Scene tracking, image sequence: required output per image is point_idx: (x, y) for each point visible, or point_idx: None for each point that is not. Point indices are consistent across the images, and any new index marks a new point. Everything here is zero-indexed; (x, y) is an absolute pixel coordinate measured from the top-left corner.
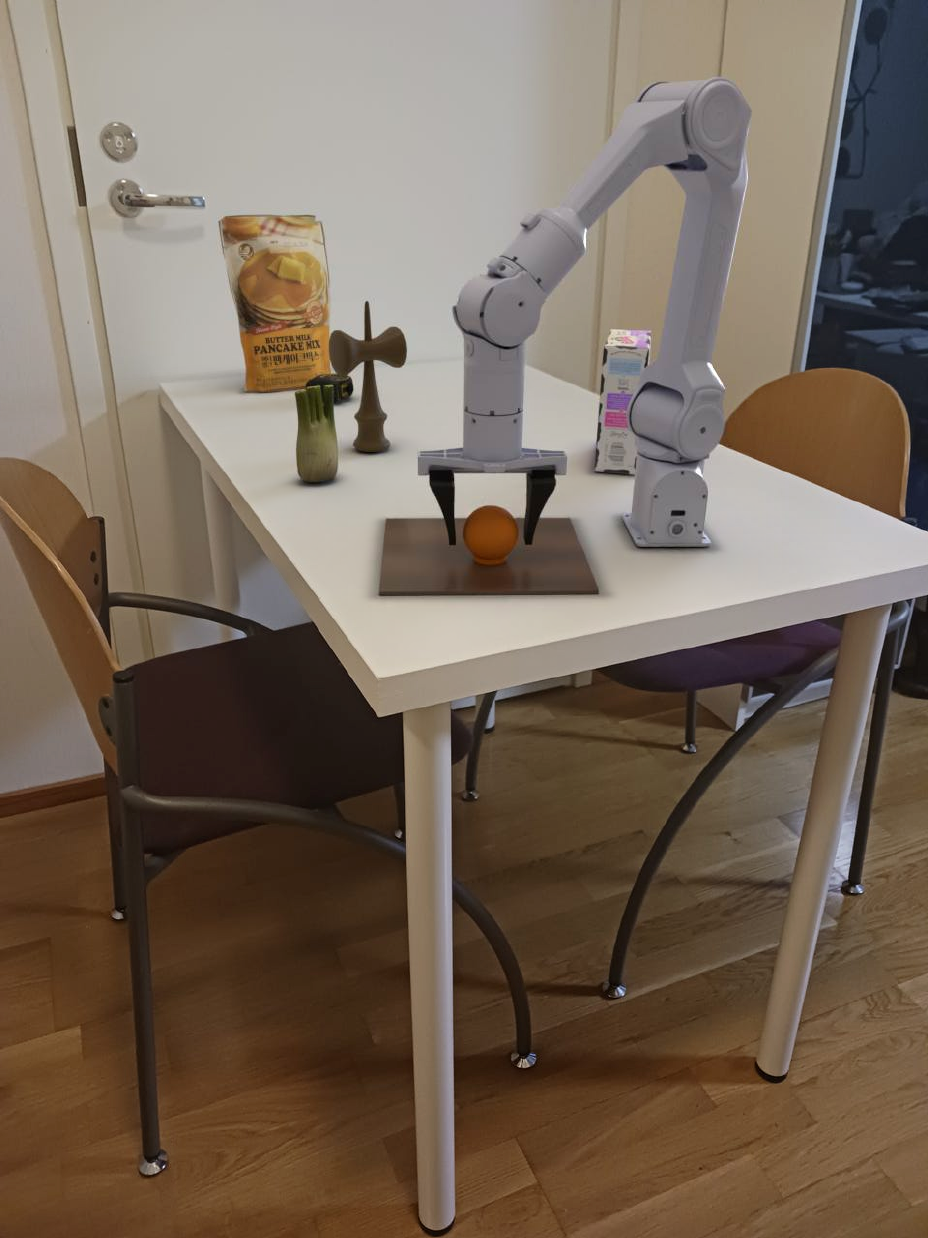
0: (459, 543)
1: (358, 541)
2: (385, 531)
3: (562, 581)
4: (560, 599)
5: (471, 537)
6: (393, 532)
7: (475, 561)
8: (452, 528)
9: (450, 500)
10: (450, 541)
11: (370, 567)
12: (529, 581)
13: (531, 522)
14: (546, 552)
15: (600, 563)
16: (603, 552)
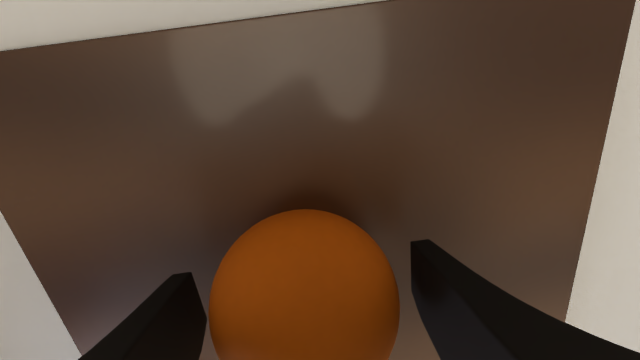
0: None
1: (616, 310)
2: None
3: (61, 119)
4: (44, 2)
5: (368, 245)
6: None
7: None
8: (447, 267)
9: (537, 351)
10: (433, 243)
11: (616, 173)
12: (165, 107)
13: (134, 325)
14: None
15: (7, 273)
16: (22, 333)
